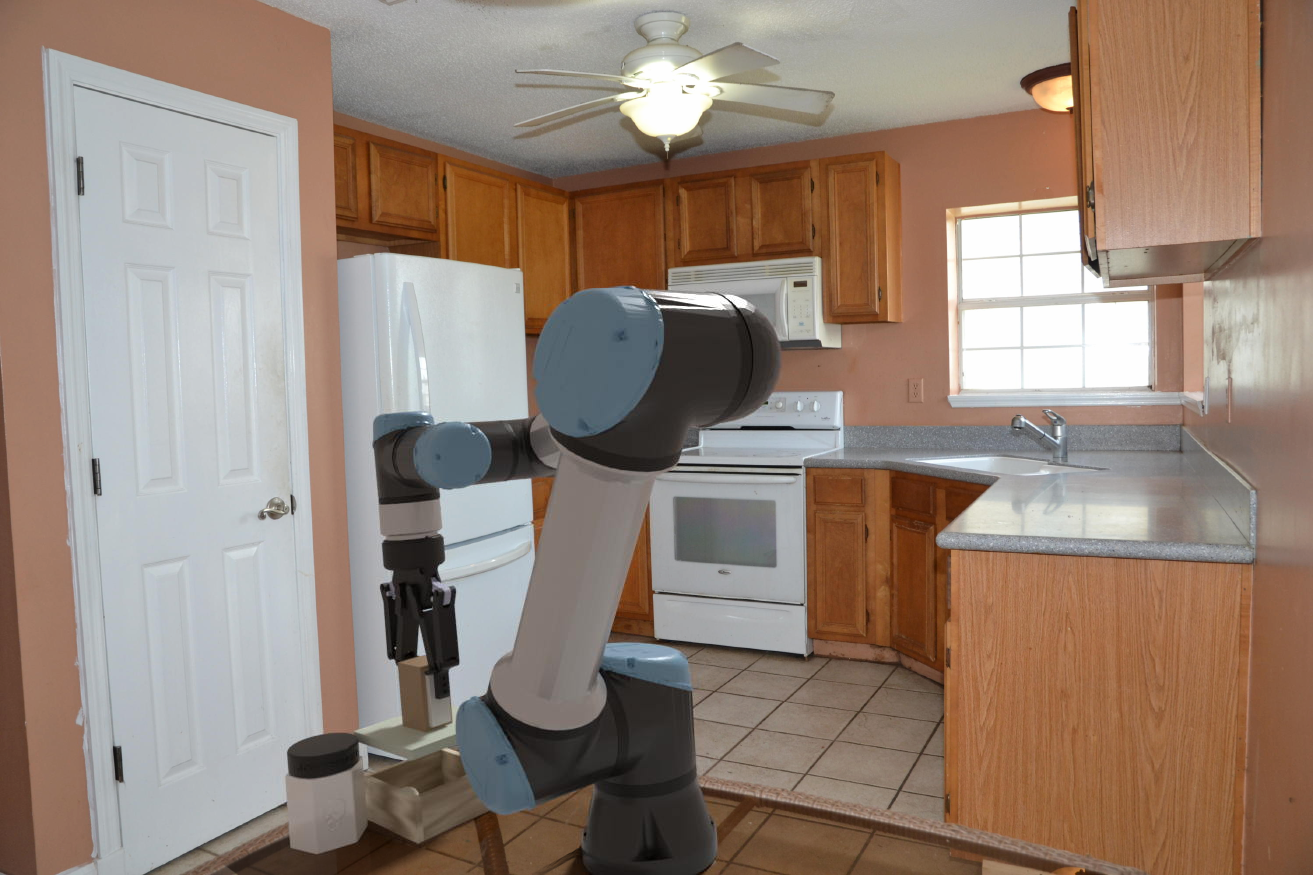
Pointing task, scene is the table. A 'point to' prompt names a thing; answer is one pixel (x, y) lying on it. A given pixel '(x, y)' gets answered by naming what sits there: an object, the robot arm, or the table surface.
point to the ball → (411, 790)
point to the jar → (325, 792)
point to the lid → (411, 719)
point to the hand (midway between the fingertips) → (427, 719)
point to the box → (422, 796)
